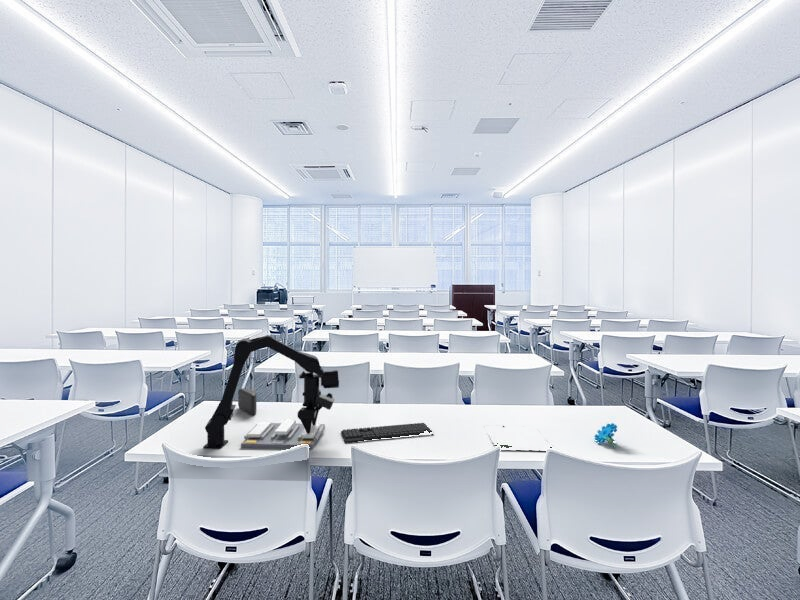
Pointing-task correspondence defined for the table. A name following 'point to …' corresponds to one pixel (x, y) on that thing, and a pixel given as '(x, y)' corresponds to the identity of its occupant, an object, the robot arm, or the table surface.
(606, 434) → the blue flower
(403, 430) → the keyboard
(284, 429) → the key middle
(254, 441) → the switch panel
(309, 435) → the key
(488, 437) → the table surface
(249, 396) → the leaning round-cornered charcoal block
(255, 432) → the key
